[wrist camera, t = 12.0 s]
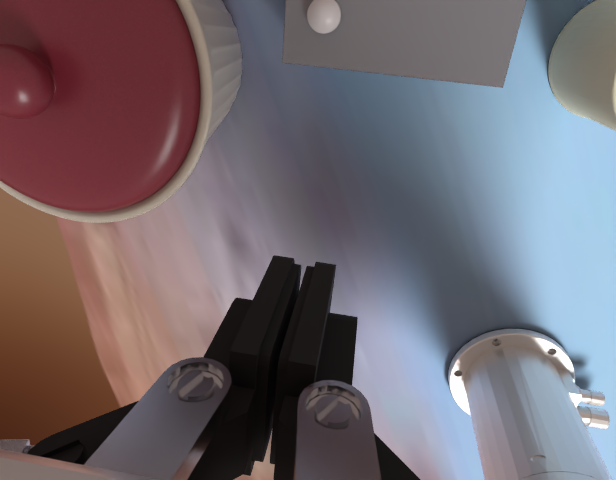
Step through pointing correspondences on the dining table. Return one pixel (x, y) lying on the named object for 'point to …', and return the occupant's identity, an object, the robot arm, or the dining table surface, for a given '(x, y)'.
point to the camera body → (405, 37)
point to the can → (587, 64)
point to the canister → (110, 100)
